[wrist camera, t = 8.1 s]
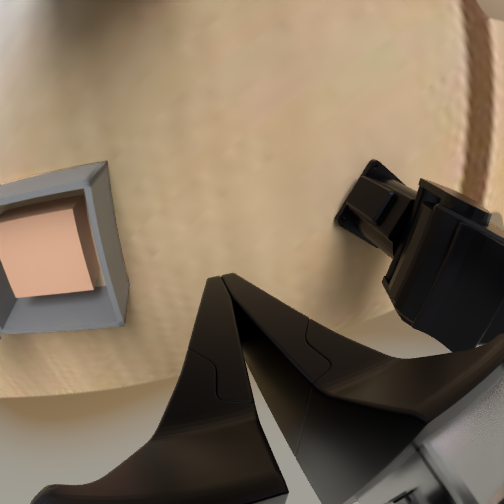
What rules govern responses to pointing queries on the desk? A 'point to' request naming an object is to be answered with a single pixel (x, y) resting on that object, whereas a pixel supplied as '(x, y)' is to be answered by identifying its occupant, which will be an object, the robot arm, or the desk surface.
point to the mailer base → (60, 253)
